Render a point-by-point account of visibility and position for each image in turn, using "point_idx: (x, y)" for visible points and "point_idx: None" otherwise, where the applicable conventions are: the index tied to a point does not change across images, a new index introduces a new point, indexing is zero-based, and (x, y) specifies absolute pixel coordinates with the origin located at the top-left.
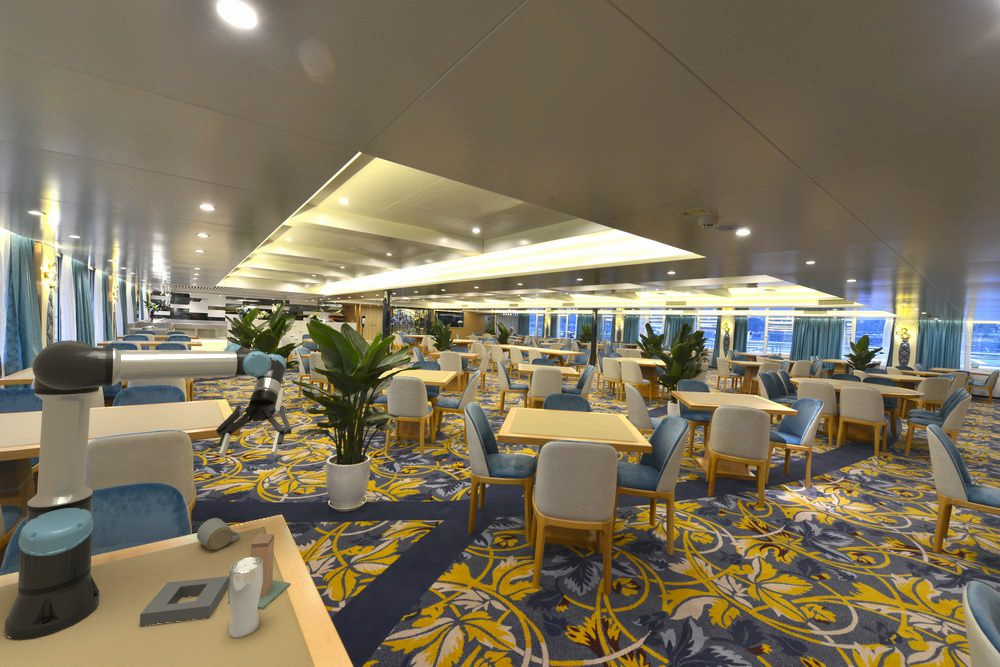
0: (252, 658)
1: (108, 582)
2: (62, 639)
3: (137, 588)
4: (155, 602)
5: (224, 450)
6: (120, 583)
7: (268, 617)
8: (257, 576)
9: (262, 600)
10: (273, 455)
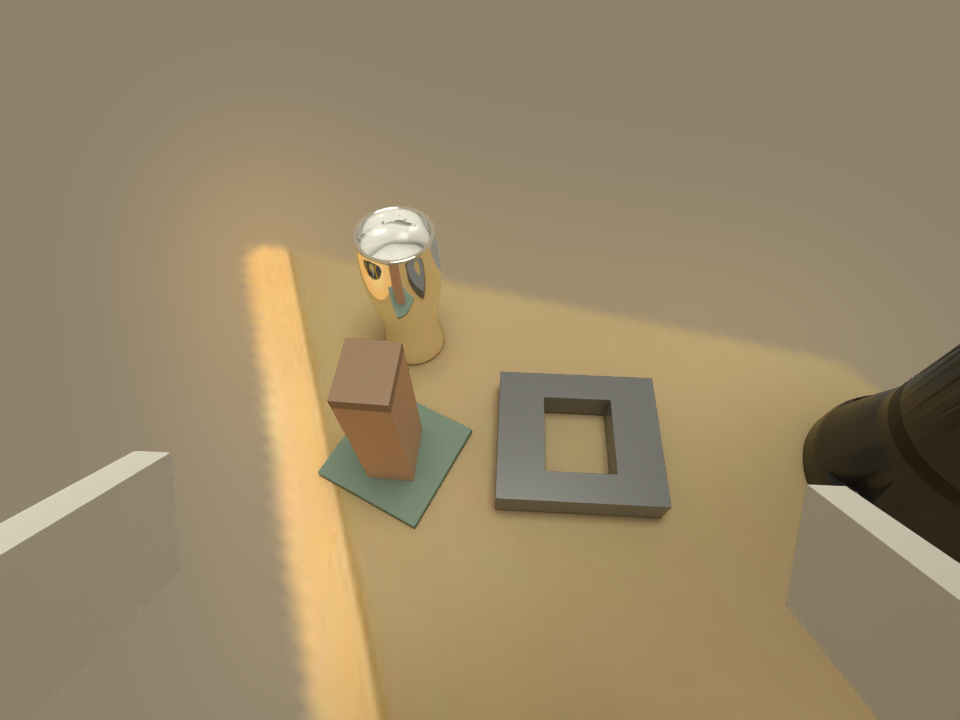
0: None
1: None
2: (784, 392)
3: (773, 573)
4: (643, 415)
5: (846, 583)
6: None
7: None
8: (367, 235)
9: None
10: (174, 557)
